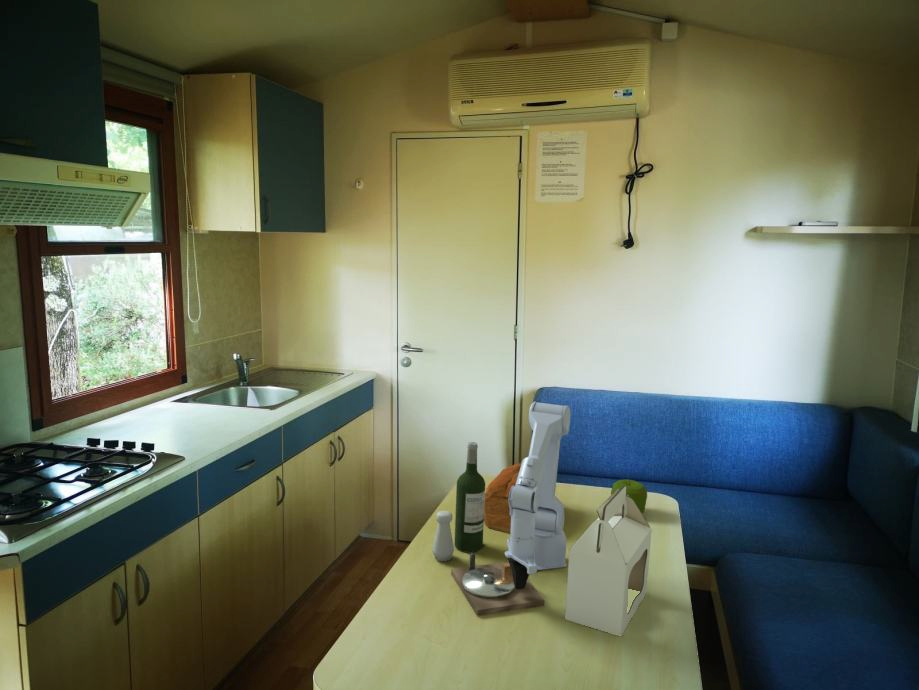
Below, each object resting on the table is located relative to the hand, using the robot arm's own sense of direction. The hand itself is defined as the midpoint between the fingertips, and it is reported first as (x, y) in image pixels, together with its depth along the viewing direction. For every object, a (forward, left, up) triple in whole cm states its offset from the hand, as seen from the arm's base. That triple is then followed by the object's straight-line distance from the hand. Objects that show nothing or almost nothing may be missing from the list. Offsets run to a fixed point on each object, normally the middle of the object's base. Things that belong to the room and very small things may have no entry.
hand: (519, 587), depth 167 cm
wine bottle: (+3, -30, -4) cm, 31 cm away
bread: (-19, -46, -4) cm, 50 cm away
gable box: (-19, +8, -4) cm, 21 cm away
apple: (-54, -40, -4) cm, 68 cm away
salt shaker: (+12, -25, -4) cm, 28 cm away
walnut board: (+4, -6, -3) cm, 8 cm away
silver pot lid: (+5, -6, -2) cm, 8 cm away
